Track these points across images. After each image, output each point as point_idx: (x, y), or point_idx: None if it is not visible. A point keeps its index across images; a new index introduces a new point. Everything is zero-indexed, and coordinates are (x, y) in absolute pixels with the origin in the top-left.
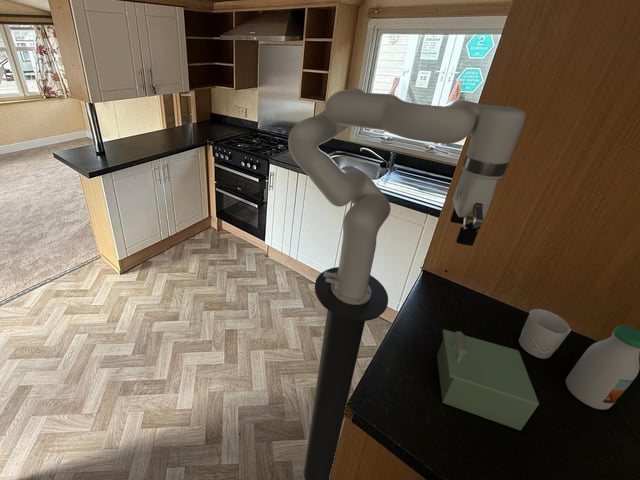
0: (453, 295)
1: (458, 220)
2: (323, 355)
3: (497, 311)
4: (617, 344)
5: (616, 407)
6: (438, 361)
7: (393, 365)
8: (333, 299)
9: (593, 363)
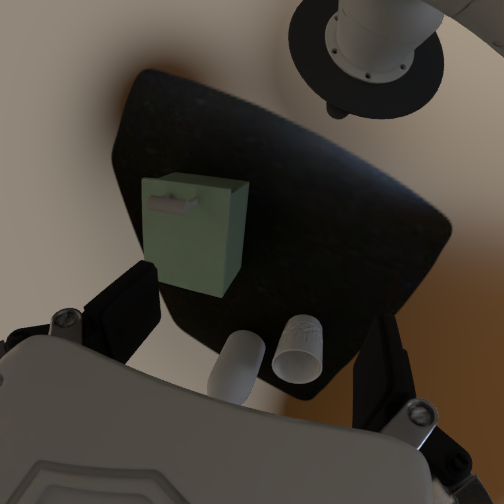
0: (404, 258)
1: (365, 354)
2: None
3: (370, 314)
4: None
5: None
6: (233, 180)
7: (210, 110)
8: (327, 10)
9: (222, 368)
